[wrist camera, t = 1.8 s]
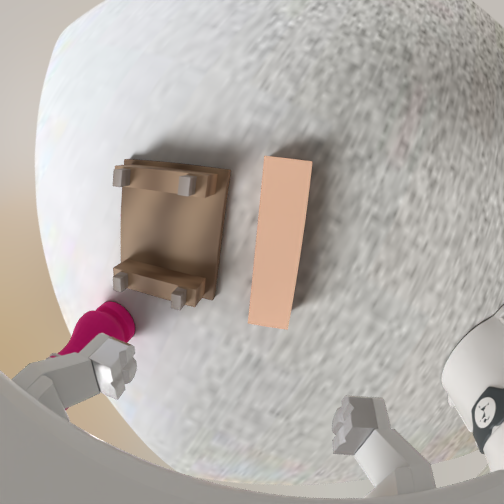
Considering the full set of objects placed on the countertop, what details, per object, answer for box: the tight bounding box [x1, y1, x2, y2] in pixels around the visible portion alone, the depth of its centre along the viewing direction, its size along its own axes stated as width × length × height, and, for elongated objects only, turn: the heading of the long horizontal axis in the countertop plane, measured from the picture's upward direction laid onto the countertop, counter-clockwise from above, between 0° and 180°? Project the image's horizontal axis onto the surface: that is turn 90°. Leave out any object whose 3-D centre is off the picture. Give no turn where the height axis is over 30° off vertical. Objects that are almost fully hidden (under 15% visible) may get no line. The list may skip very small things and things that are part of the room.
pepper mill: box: [46, 301, 135, 411], centre depth 27 cm, size 7×7×20 cm
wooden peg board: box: [113, 159, 231, 310], centre depth 27 cm, size 12×14×6 cm
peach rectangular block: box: [248, 156, 312, 330], centre depth 27 cm, size 4×16×4 cm, turn 175°
